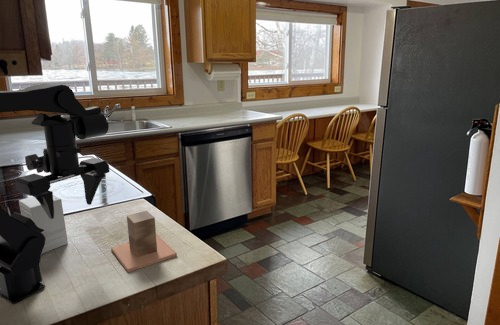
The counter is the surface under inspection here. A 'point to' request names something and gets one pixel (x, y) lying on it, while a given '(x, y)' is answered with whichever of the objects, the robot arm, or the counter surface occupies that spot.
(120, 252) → the terracotta mat
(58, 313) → the counter surface
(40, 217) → the supplement box
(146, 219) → the walnut block
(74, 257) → the counter surface
